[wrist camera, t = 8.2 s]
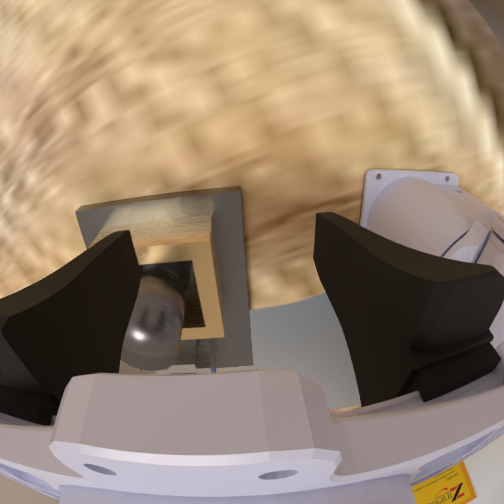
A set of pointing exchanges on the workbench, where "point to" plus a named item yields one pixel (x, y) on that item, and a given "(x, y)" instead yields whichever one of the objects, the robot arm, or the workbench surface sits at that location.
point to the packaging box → (447, 487)
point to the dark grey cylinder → (157, 316)
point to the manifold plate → (202, 266)
